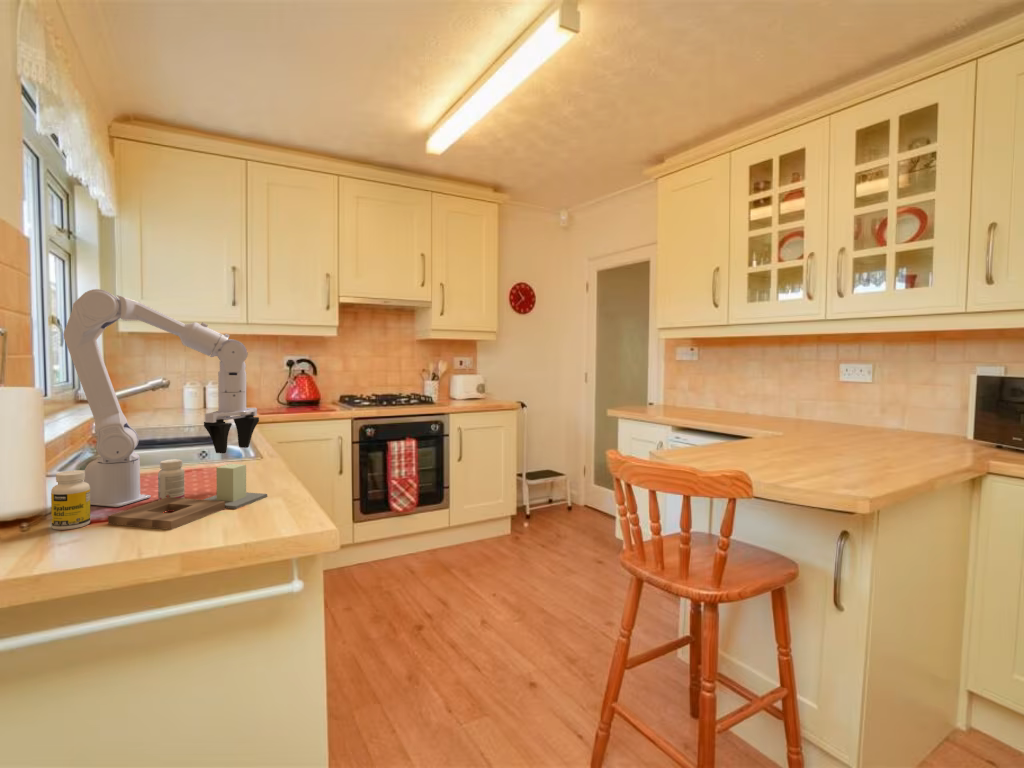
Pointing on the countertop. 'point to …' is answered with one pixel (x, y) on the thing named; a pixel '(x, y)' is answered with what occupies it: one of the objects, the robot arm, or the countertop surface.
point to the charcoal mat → (240, 500)
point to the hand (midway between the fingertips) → (232, 450)
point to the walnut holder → (155, 517)
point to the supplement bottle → (70, 501)
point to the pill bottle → (171, 479)
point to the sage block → (231, 482)
